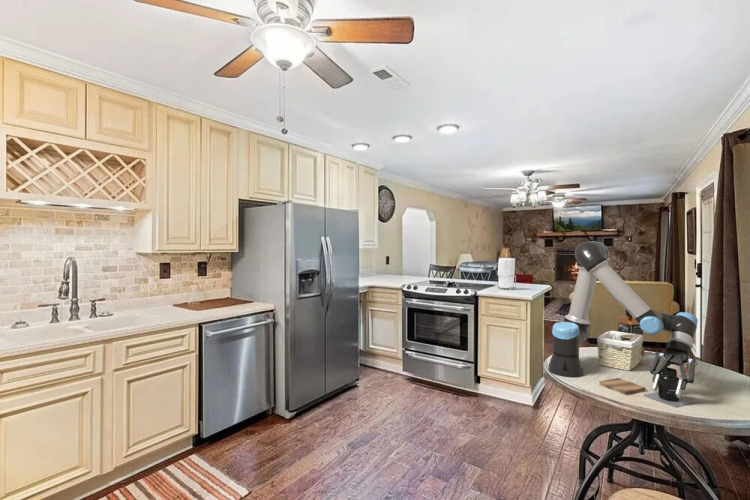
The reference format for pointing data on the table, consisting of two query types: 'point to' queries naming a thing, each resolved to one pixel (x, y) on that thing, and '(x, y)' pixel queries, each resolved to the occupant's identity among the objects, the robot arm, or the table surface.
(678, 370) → the teacup with lid
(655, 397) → the gray card
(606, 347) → the storage basket
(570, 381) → the table surface
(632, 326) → the whiskey bottle
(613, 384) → the walnut board
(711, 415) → the table surface
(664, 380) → the supplement bottle
